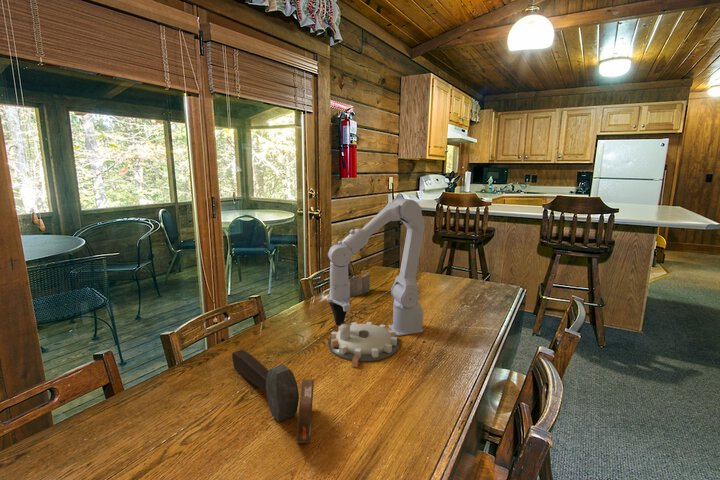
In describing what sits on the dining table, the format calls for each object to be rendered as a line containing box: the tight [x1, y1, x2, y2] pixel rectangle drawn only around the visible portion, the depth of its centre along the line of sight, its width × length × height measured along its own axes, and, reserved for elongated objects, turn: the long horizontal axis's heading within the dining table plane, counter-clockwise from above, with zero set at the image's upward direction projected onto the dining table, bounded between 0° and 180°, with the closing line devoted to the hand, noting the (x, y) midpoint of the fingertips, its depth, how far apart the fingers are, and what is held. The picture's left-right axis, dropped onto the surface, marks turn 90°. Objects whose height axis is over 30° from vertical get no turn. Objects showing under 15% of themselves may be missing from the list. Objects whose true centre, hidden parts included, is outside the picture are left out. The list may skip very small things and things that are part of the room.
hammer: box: [231, 349, 300, 423], centre depth 90 cm, size 5×11×30 cm
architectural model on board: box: [348, 269, 371, 298], centre depth 159 cm, size 11×3×10 cm, turn 132°
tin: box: [296, 378, 315, 444], centre depth 78 cm, size 15×3×8 cm, turn 5°
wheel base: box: [327, 335, 400, 368], centre depth 114 cm, size 22×24×2 cm
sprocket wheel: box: [330, 321, 398, 358], centre depth 114 cm, size 20×20×6 cm
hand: (339, 324), depth 118 cm, fingers closed
